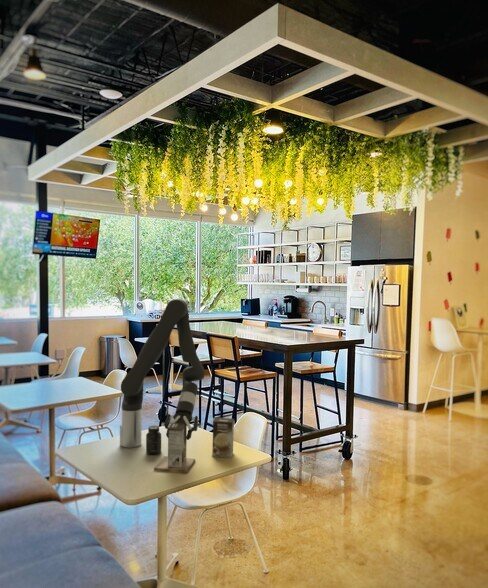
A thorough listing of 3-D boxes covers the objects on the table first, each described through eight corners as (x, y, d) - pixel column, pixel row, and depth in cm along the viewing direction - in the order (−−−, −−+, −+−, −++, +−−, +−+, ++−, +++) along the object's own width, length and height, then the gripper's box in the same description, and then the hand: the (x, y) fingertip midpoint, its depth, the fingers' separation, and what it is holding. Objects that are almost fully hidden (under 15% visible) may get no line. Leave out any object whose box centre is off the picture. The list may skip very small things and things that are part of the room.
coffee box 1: (172, 458, 208) (172, 421, 207) (186, 459, 207) (187, 422, 207) (166, 466, 199) (167, 428, 198) (182, 467, 198) (182, 429, 198)
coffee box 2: (211, 456, 214) (212, 421, 214) (213, 451, 221) (214, 417, 220) (231, 457, 213) (232, 422, 213) (233, 452, 220) (234, 418, 219)
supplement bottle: (146, 450, 220) (147, 424, 220) (161, 450, 221) (162, 424, 220) (145, 456, 213) (145, 429, 213) (160, 455, 214) (160, 429, 214)
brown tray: (153, 470, 198) (154, 467, 198) (164, 458, 211) (164, 456, 211) (186, 473, 195) (186, 470, 195) (195, 461, 208) (195, 458, 208)
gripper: (169, 399, 212) (159, 432, 201) (200, 401, 210) (192, 435, 199) (172, 407, 217) (163, 441, 207) (203, 409, 215) (195, 443, 204)
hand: (177, 438), depth 203 cm, fingers open, 8 cm apart
